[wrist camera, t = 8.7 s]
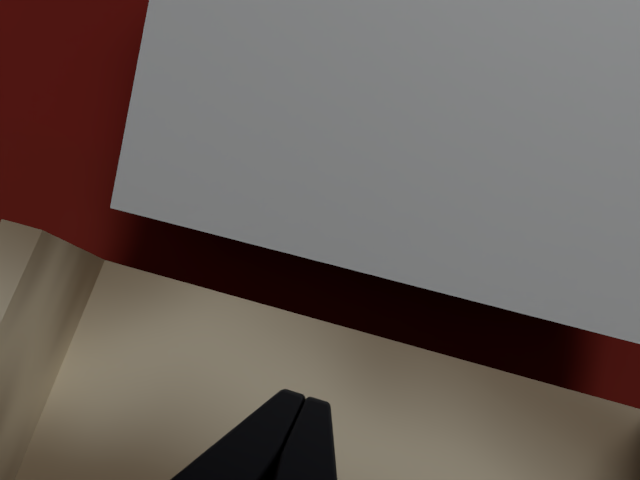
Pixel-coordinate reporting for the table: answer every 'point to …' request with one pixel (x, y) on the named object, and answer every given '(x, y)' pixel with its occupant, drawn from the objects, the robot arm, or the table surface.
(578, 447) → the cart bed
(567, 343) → the table surface
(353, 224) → the panel
